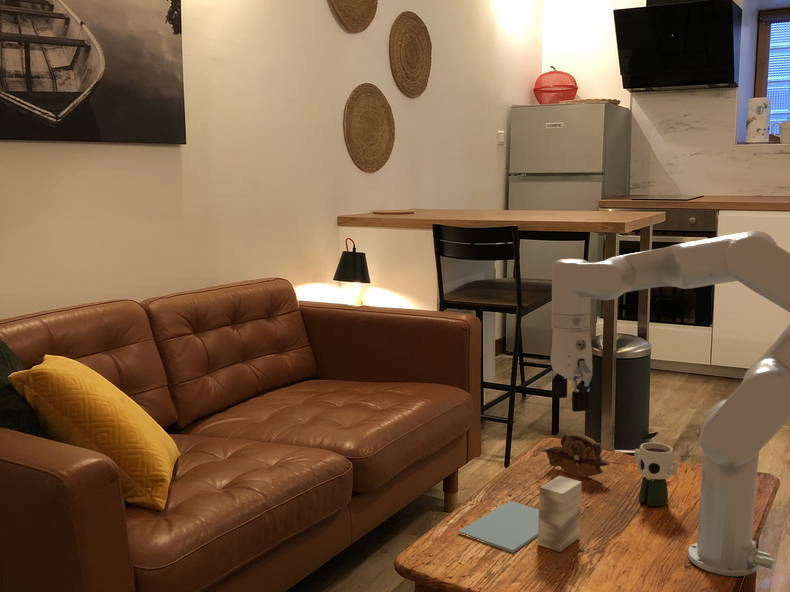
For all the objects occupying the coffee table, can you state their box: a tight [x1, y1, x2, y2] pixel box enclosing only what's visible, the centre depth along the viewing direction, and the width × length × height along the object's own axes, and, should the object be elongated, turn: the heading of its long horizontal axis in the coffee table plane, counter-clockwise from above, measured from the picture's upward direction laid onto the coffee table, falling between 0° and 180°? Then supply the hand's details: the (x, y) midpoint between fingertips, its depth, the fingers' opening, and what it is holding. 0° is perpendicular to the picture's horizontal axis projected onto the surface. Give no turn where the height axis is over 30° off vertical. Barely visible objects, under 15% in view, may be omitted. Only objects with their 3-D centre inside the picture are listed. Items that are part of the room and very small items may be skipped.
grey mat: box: [457, 500, 539, 554], centre depth 171 cm, size 13×20×1 cm, turn 141°
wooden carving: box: [545, 433, 611, 478], centre depth 199 cm, size 16×5×10 cm, turn 53°
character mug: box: [633, 442, 679, 507], centre depth 182 cm, size 11×7×13 cm, turn 38°
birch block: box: [537, 475, 582, 553], centre depth 163 cm, size 5×8×12 cm, turn 141°
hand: (569, 404), depth 166 cm, fingers open, 9 cm apart
